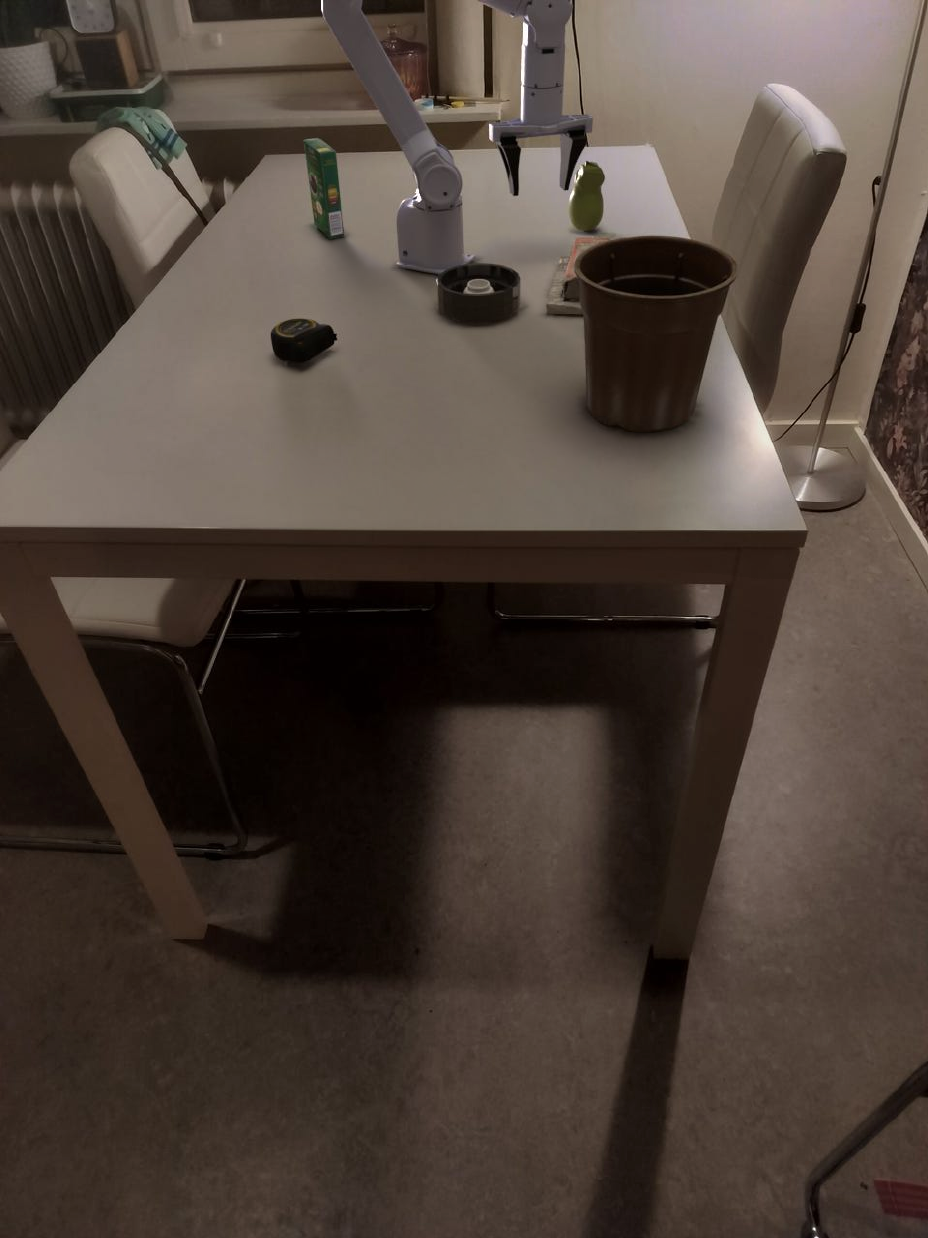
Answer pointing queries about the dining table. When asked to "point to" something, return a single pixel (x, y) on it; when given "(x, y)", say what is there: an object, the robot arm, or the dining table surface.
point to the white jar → (478, 287)
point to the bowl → (478, 305)
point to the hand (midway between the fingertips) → (539, 191)
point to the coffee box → (324, 187)
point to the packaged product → (569, 280)
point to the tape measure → (301, 339)
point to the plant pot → (649, 326)
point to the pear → (587, 197)
